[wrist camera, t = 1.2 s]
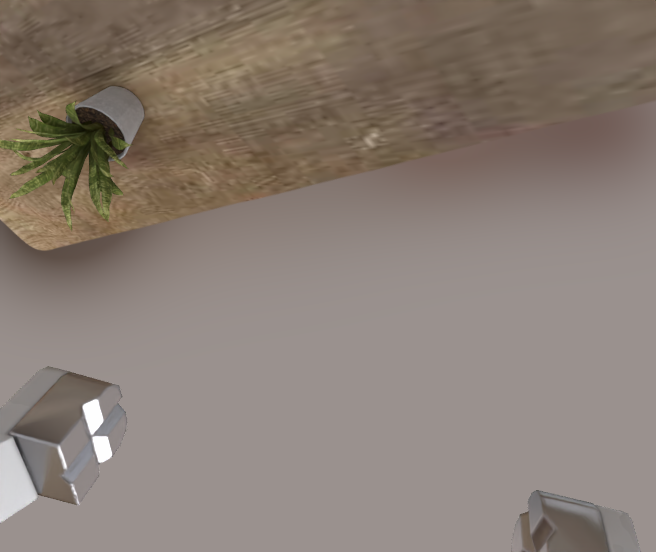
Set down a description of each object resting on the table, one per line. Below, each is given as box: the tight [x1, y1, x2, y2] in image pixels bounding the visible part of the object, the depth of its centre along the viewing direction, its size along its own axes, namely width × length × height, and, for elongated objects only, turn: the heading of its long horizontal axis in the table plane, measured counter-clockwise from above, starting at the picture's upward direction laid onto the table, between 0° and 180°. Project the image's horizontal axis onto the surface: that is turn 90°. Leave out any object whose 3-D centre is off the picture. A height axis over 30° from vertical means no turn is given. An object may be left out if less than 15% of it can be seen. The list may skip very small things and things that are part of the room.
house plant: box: [0, 86, 144, 232], centre depth 55 cm, size 14×14×16 cm
